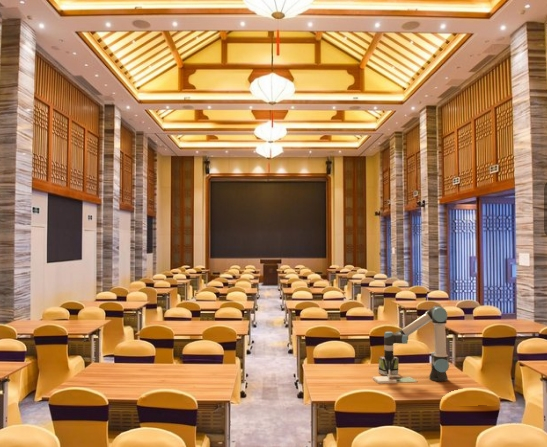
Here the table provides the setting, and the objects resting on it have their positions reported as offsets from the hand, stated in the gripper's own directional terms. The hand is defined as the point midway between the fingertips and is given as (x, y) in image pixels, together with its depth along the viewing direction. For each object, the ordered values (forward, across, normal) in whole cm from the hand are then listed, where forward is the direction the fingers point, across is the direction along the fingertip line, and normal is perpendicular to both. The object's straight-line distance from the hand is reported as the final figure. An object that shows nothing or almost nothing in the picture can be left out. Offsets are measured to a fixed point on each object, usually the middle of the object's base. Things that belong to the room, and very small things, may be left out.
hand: (389, 377), depth 417 cm
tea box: (+3, -9, -22) cm, 24 cm away
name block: (+1, -5, 0) cm, 5 cm away
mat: (+3, -14, 0) cm, 14 cm away
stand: (+3, +4, 0) cm, 5 cm away
